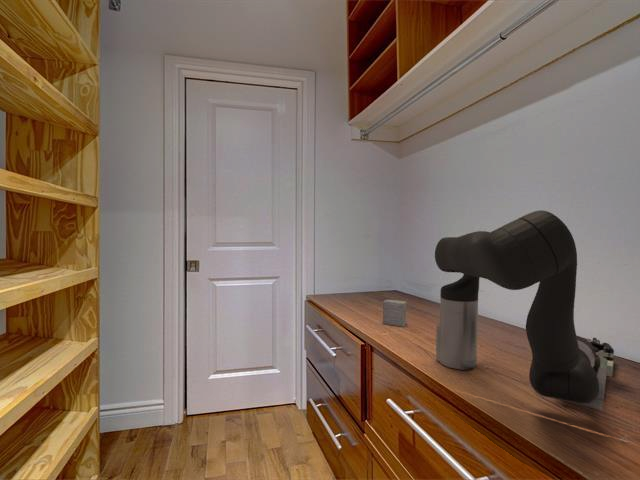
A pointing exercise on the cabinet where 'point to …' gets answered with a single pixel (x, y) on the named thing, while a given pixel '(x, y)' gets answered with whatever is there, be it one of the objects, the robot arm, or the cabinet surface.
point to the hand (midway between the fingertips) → (580, 339)
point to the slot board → (602, 382)
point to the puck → (596, 364)
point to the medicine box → (394, 312)
